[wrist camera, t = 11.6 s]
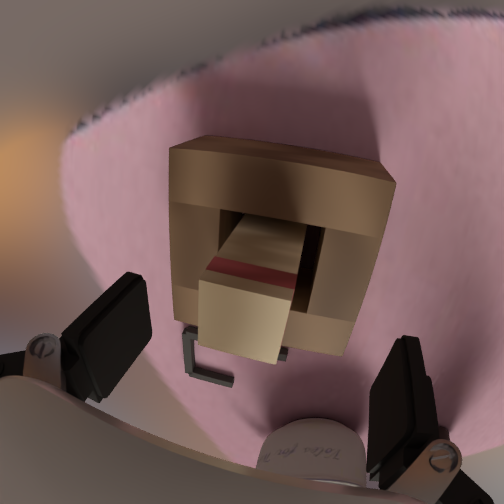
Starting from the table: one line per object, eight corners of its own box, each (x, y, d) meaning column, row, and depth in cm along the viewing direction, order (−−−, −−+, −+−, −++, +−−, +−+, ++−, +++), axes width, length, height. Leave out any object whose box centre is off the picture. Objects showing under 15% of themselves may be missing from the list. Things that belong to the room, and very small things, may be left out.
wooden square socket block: (380, 162, 16) (396, 182, 12) (342, 309, 21) (342, 356, 17) (204, 135, 17) (169, 147, 13) (200, 280, 22) (174, 319, 18)
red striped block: (310, 209, 18) (292, 300, 10) (300, 257, 20) (276, 365, 12) (255, 198, 19) (198, 279, 11) (249, 246, 20) (197, 344, 12)
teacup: (345, 392, 24) (339, 474, 18) (382, 443, 27) (381, 506, 20) (223, 420, 30) (199, 481, 24) (276, 462, 33) (262, 516, 26)
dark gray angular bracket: (288, 349, 23) (287, 355, 23) (277, 392, 26) (276, 398, 25) (185, 324, 25) (181, 330, 24) (188, 369, 27) (185, 375, 27)
